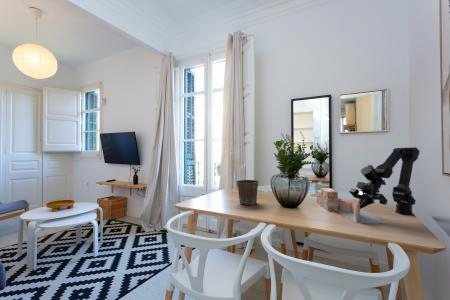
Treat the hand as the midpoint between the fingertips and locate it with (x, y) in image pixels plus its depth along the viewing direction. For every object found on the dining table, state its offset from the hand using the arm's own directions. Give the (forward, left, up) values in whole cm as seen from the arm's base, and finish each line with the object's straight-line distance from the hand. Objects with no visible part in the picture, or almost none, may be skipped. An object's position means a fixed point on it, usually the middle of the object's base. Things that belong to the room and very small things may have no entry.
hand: (359, 208), depth 117 cm
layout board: (-3, -8, -6) cm, 10 cm away
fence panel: (0, -3, -6) cm, 7 cm away
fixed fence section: (+1, -15, -6) cm, 17 cm away
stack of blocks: (+8, -27, -7) cm, 29 cm away
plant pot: (+61, -33, -7) cm, 69 cm away
